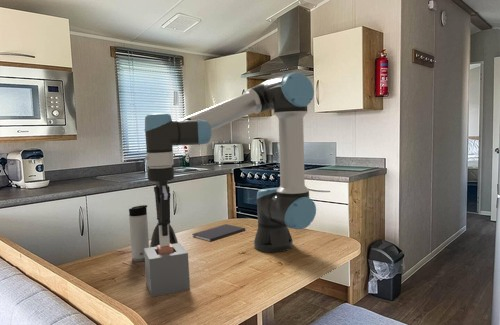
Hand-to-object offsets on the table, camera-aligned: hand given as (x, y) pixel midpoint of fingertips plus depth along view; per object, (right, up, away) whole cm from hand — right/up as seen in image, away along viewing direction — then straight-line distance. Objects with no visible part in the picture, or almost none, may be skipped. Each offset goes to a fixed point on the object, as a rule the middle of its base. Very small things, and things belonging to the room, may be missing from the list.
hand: (164, 245), depth 112 cm
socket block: (+1, -13, +1) cm, 13 cm away
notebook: (+11, -8, +57) cm, 59 cm away
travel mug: (-15, -11, +27) cm, 32 cm away
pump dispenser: (-4, -11, +20) cm, 24 cm away
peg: (0, -10, +1) cm, 10 cm away
